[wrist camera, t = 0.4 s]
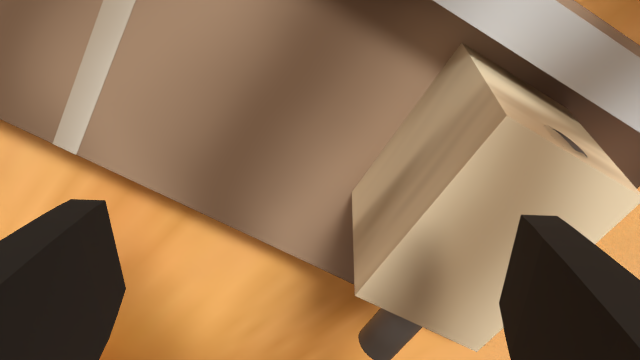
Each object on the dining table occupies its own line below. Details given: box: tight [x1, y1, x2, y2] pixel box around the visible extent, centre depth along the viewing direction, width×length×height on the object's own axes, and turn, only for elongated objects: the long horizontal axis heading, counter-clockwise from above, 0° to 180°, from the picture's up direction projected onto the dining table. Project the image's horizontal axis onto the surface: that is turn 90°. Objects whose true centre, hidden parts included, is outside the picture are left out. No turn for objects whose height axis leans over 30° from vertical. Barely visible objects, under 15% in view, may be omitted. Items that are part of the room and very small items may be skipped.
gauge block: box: [352, 43, 640, 360], centre depth 16 cm, size 4×8×5 cm, turn 150°
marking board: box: [0, 0, 640, 284], centre depth 16 cm, size 22×12×3 cm, turn 60°
